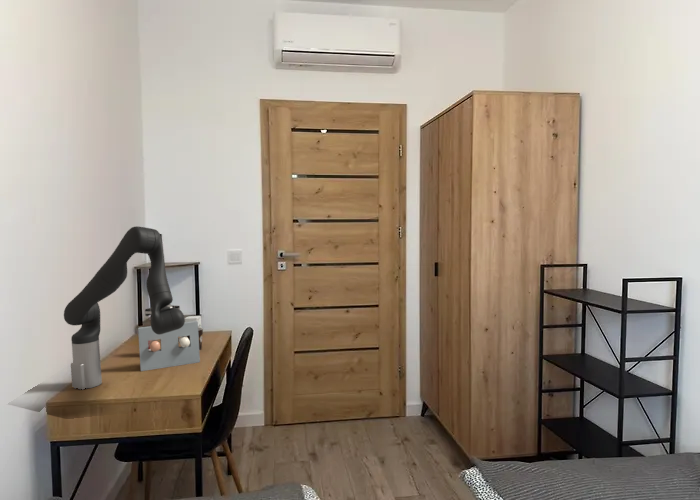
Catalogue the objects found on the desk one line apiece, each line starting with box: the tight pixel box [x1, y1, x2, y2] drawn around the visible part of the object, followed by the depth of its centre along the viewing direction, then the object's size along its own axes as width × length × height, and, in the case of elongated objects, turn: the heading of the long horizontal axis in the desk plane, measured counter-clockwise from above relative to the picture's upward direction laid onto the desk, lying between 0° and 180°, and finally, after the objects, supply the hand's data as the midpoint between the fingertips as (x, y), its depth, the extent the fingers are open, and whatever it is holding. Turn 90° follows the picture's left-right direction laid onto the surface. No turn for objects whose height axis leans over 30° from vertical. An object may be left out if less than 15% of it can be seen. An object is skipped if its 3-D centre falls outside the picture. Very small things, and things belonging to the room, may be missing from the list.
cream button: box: [178, 336, 190, 347], centre depth 207 cm, size 6×4×4 cm, turn 25°
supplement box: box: [184, 315, 202, 328], centre depth 253 cm, size 7×7×13 cm
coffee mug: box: [187, 327, 204, 351], centre depth 234 cm, size 12×9×10 cm
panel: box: [137, 321, 201, 372], centre depth 208 cm, size 9×24×18 cm, turn 115°
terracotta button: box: [149, 339, 161, 352], centre depth 202 cm, size 6×4×4 cm, turn 25°
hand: (161, 307), depth 189 cm, fingers closed
